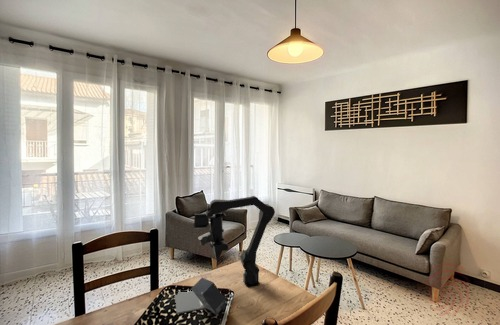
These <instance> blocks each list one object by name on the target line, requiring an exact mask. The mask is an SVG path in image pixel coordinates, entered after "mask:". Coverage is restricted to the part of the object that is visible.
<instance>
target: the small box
mask: <svg viewBox="0 0 500 325" xmlns="http://www.w3.org/2000/svg"><path fill="white" fill-rule="evenodd" d="M190 290H192V291H193V292H194V293H195V295H196V296H197V297H198V299H199V300H200V301H201V303H202V304H203V305H204V307H205V309H207V310H208V311H209V312H211V313H213V314H214V315H215V316H217V315H218V314H219V313H221V311H222V310H223V308H224V307H225V306H226V305H227V304H228V300H227V299H226V298H225V297H224V295H223V293H222V292H221V291H220V290H219V288H218V287H217V285H216V284H215V283H214V282H213V281H211V280H209V279H206V278H204V277H201V278H200V279H199V280H198V281H197V282H196V283H195V284H194V285H193V286H192V287H191V288H190Z"/></svg>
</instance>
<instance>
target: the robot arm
mask: <svg viewBox="0 0 500 325" xmlns="http://www.w3.org/2000/svg"><path fill="white" fill-rule="evenodd" d="M249 206H250V207H251V206H255V207H256V209H258V210H259V211H258V221H257V224H256V227H255V229H254V232H253V235H252V237H251V239H250V242H249V244H248V246H247V248H246V249H242V251H241V255H240V256H239V258H240V263H241V265H242V267H243V269H244V273H243V281H242V282H243V283H244V285H245V286H246V287H247V288H250V287H256V286H260V285H261V283H260V281H259V280H260V279H259V278H260V277H259V275H260V274H259V273H260V268H259V266H258V265H257V262H256V261H257V251H258V249H259V247H260V243H261V240H262V238H263V236H264V233H265V231H266V228H267V225H268V224H270V222H271V221H272V219H273V217H274V216H275V213H276V212H275V209H274V207H273V206H271V205H270V204H268V203H264V202H263V201H261V200H260V199H259V198H258V197H257V196H255V195H252V196H247V197H241V198H234V199H212V200H211V201H210V203H209V206H208V207H209V208H208V209H207V210H206V211H205V213H194V219H193V224H194V225H193V226H194V227H193V228H194V229H195V230H197V229H207V228H208V227H209V226H210V228H209V229H208V232H206V233H204V234H201V235H200V236H198V237H197V239H198V241H199V245H200V246H202V247H203V246H205V245H206V244H208V243H209V246H210V248H211V249H212V251H213V253H214V254H213V255H214V257H215V260H216V261H219V260H220V257H221V255H222V254H223V252H224V251H228V250H229V244H228V243H227V242H225V238H224V235H223V234H224V231H225V230H224V229H223V218H227V215H226V213H224V212H227V211H228V210H232V209H237V208H238V209H239V208H243V207H249Z"/></svg>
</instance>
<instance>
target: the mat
mask: <svg viewBox="0 0 500 325" xmlns="http://www.w3.org/2000/svg"><path fill="white" fill-rule="evenodd" d="M189 290H190V291H189V292H188V293H187V292H181V291H177V292H178V294H179V295H175V296H174V303H176V304H175V311H176V315H178V314H184V313H188V312H193V311H199V310H203V309H206V308H205V307H204V305H203V304H202V303H201V301H200V300H199V299H198V297H197V296H196V295H195V293H194V292H193V291H191V289H189Z"/></svg>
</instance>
